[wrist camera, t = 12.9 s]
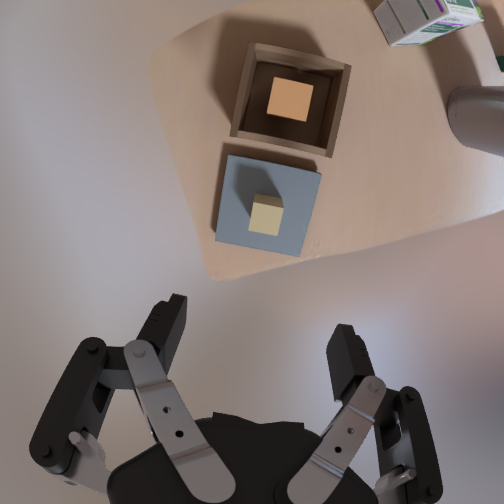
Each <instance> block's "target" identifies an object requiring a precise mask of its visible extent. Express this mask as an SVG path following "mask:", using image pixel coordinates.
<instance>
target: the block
mask: <svg viewBox="0 0 504 504" xmlns="http://www.w3.org/2000/svg"><path fill="white" fill-rule="evenodd" d="M312 91H313V86H312V85H308V84H304V83H300V82H296V81H291V80H287V79H282V78H277V77H274V81H273V85H272V90H271V95H270V100H269V105H268V109H267V115H270V116H275V117H280V118H285V119H289V120H294V121H298V122H306V119H307V114H308V110H309V105H310V100H311V96H312Z"/></svg>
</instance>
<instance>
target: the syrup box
mask: <svg viewBox="0 0 504 504" xmlns="http://www.w3.org/2000/svg"><path fill="white" fill-rule="evenodd" d="M373 12H374V15H375V17H376V19H377V21H378V23H379V25H380V27H381V29H382V31H383V33H384V35H385V37H386V39H387V41H388V43H389V45H390V46H408V45H423V44H425V43H428V42H430V41H432V40H435V39H437V38H439V37H442V36H444V35H447V34H449V33H452V32H455V31H457V30H460V29H463V28H465V27H468V26H471V25H474V24H477V23H480V22H483V21H485V19H484V16H483V14H482V12H481V10H480V7H479V5H478V3H477V1H476V0H384V1H383V2H382V3H381V4H380V5H379V6H378V7H377V8H376V9H375V10H374V11H373Z"/></svg>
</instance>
